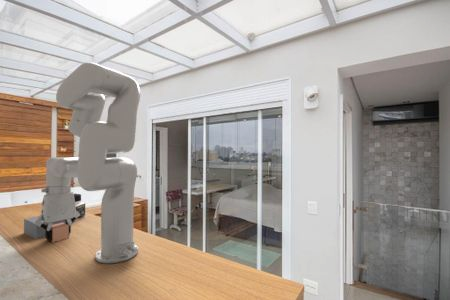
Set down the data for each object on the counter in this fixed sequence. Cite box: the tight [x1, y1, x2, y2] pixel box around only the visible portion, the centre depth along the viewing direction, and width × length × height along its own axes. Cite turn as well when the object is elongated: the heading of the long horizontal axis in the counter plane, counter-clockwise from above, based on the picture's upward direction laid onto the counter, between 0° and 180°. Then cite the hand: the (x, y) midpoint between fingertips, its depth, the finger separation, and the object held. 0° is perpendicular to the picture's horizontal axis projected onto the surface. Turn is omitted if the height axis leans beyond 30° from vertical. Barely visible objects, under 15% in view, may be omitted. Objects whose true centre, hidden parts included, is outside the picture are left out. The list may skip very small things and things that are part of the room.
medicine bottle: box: [73, 193, 86, 222], centre depth 111 cm, size 7×7×12 cm
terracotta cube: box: [51, 223, 70, 243], centre depth 87 cm, size 5×5×5 cm
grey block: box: [23, 215, 66, 240], centre depth 94 cm, size 11×11×6 cm
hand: (58, 237), depth 87 cm, fingers closed on terracotta cube, 4 cm apart
